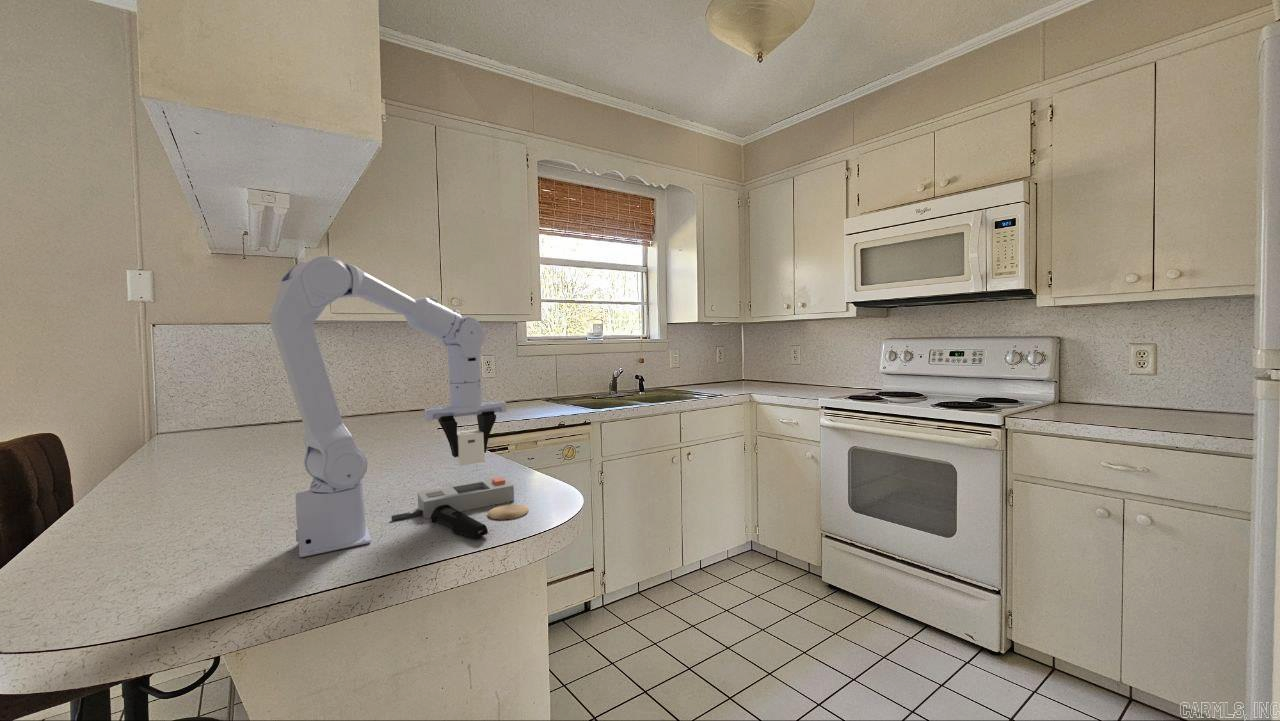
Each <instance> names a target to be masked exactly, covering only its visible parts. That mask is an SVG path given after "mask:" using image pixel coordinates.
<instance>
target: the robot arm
mask: <svg viewBox="0 0 1280 721" xmlns="http://www.w3.org/2000/svg"><path fill="white" fill-rule="evenodd" d="M340 298H341V299H343V298H344V299H346V298H359V299H362V300H366V301H367V302H369V303H373V304H375V305H378V306H379V307H382V308H385V309H387V310H390V311H391V312H394V313H396V314H398V315H401V316H403V317H404V318H405V320H406V323H407V324H408V326H409V327H411V328H413V329H415V330H418V331H419V332H422V333H424V334H425V335H428V336H430V337H433V338H435V339H437V340H440V341H441V343H442V344H443V345H444V346H445V347H446V348H447V361H448V362H447V364H448V366H447V367H448V382H449V383H448V384H449V385H448V386H449V399H450V400H449V401H450V402H449V403H450V405H445V406H438V407H430V408H424V420H426V421H433V420H437V421H438V423H439V425H440V427H441V428H442V430H443V432H444V434H445V436H446V438H447V441H448V444H449V448H450V451H451V456H453V458H454V457H458V445H457V432H458V421H456V418H457V417H458V418H459V417H467V416H476V419H477V425H478V426H477V427H478V428H477V429H478V430H479V431H481V432H483V437H484V454H486V453H487V448H488V443H489V438H490V435H491V432H492V429H493V427H494V425H495V423H496V420H497V414H495V413H507V411H508V409H507V407H508V406H507V401H503V400H500V401H486V402H485V401H484V402H483V390H482V389H483V388H482V369H481V368H482V367H481V353H482V352H481V350H482V349H481V347H482V345H483V344H484V341H485V340H486V335H487V333H486V331H484V328H483V326H482V324H480V321H478V319H476V318H474V317H471V316H465V317H462V315H461V311H459V310H457V309H453V310H452V309H450V308H448V307H446V306H444V305H442V304H440V303H438V301H439V299H438V298H437V297H434V296H429V297H426V296H421V297H418V298H416V299H414V298H413V297H411V296H409V295H407V294H405V293H403V292H401V291H400V290H398V289H397V288H394V287H392V286H390V285H389V284H387V283H385V282H383V281H382V280H380V279H377V278H376V277H374V276H372V275H370V274H368V273H367V272H365V271H363V270H362V269H360V268H359V267H357V266H356V265H353V264H350V263H346V262H345V263H343V261H341V260H339V259H338V258H335V257H333V256H329V255H321V256H320V255H319V256H317V257H314V258H312V259H311V260H309V261H302V262H299V263H296V264H294V265H293V266H292V267H291V268H290V269H289V270H288V271H287V272H286V273H285V274H284V275H283V276H282V277H281V278H280V279H279V286H278V291H277V294H276V295H275V299H274V302H273V305H272V307H271V311H270V313H269V323H270V327H271V330H272V333H273V336H274V339H275V341H276V345H277V348H278V352H279V355H280V357H281V360H282V364H283V365H284V371H285V373H286V375H287V378H288V382H289V385H290V388H291V391H292V394H293V396H294V399H295V403H296V406H297V409H298V411H299V415H300V418H301V421H302V424H303V427H304V431H305V433H304V437H303V443H304V447H305V456H304V461H303V464H304V465H303V467H304V469H305V471H306V472H307V474H308V475H310V477H312V478H313V479H312V480H311V482H310V485H309V488H310V489H308V490H305V491H300V492H299V491H298V492H296V493H295V514H296V527H297V528H296V529H295V541H296V543H298V551H299V552H298V555H299V556H298V557H300V558H303V557H308V556H313V555H317V554H318V555H319V554H323V553H328V552H333V551H337V550H343V549H348V548H352V547H357V546H361V545H365V544H370V543H371V542H372V538H371V535H370V532H369V528H368V525H366V513H365V512H366V510H365V509H366V508H365V496H364V480H363V478H364V477H365V475H366V473H367V470H368V460H367V459H368V458H367V456H366V455H365V454H364V452H363V451H362V450H361V449H360V448H359V447H357V445H356V443H355V440H354V437H353V435H352V434H351V432H350V431H349V429H348V428H347V426H346V425H345V424H344V421H343V418H342V415H341V411H340V409H339V406H338V402H337V399H336V396H335V393H334V390H333V389H334V388H333V386H332V383H331V379H330V376H329V374H328V370H327V366H326V364H325V361H324V358H323V354H322V351H321V349H320V344H319V342H318V338H317V334H316V331H315V329H314V323H315V322H316V320H317V319H318V318H319V317H320V315H321V314H322V312H323V311H324V310H325V309H326V307H327V306H329V305H330V304H332V303H334V302H335V301H337V300H338V299H340Z"/></svg>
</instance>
